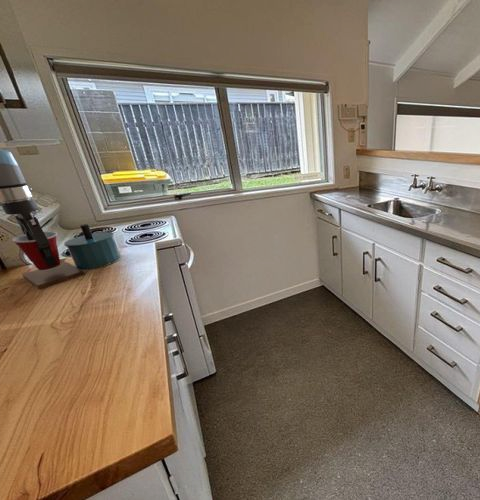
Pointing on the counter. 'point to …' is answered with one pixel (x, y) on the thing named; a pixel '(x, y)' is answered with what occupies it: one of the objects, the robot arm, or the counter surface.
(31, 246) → the plastic cup
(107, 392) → the counter surface
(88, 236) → the pot lid
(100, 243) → the pot
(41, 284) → the board
